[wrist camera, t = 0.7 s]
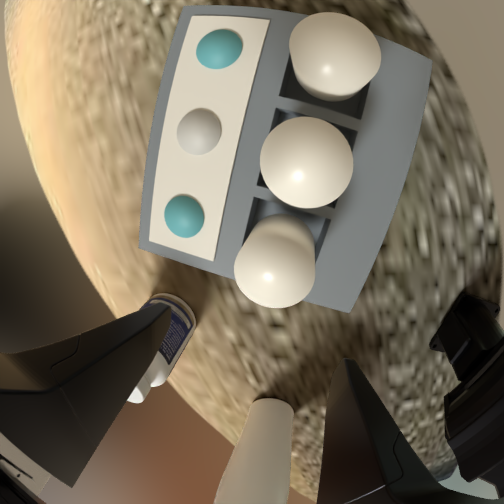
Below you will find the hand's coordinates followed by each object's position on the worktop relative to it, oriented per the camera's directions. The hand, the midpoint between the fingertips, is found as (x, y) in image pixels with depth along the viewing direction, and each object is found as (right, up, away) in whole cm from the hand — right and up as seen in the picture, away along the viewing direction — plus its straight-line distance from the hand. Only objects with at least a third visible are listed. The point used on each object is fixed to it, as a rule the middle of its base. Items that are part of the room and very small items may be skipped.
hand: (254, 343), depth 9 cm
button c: (+2, +3, +8) cm, 9 cm away
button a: (+4, +13, +3) cm, 14 cm away
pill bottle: (-8, -3, +17) cm, 18 cm away
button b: (+3, +8, +5) cm, 10 cm away
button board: (+2, +10, +9) cm, 13 cm away
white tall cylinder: (+2, -15, +20) cm, 25 cm away
